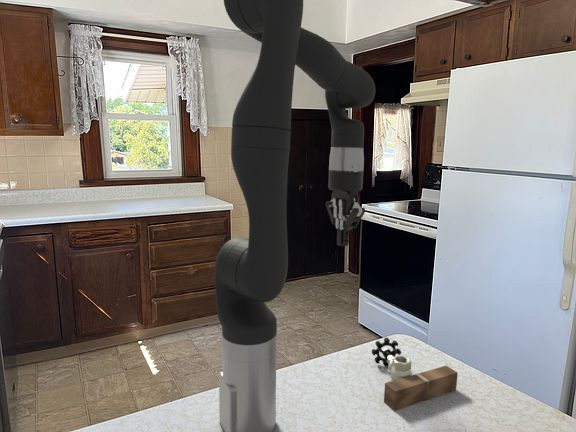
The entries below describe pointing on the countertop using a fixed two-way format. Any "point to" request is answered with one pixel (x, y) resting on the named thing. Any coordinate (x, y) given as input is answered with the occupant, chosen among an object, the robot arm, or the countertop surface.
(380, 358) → the valve
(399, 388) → the bar
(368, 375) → the countertop surface
